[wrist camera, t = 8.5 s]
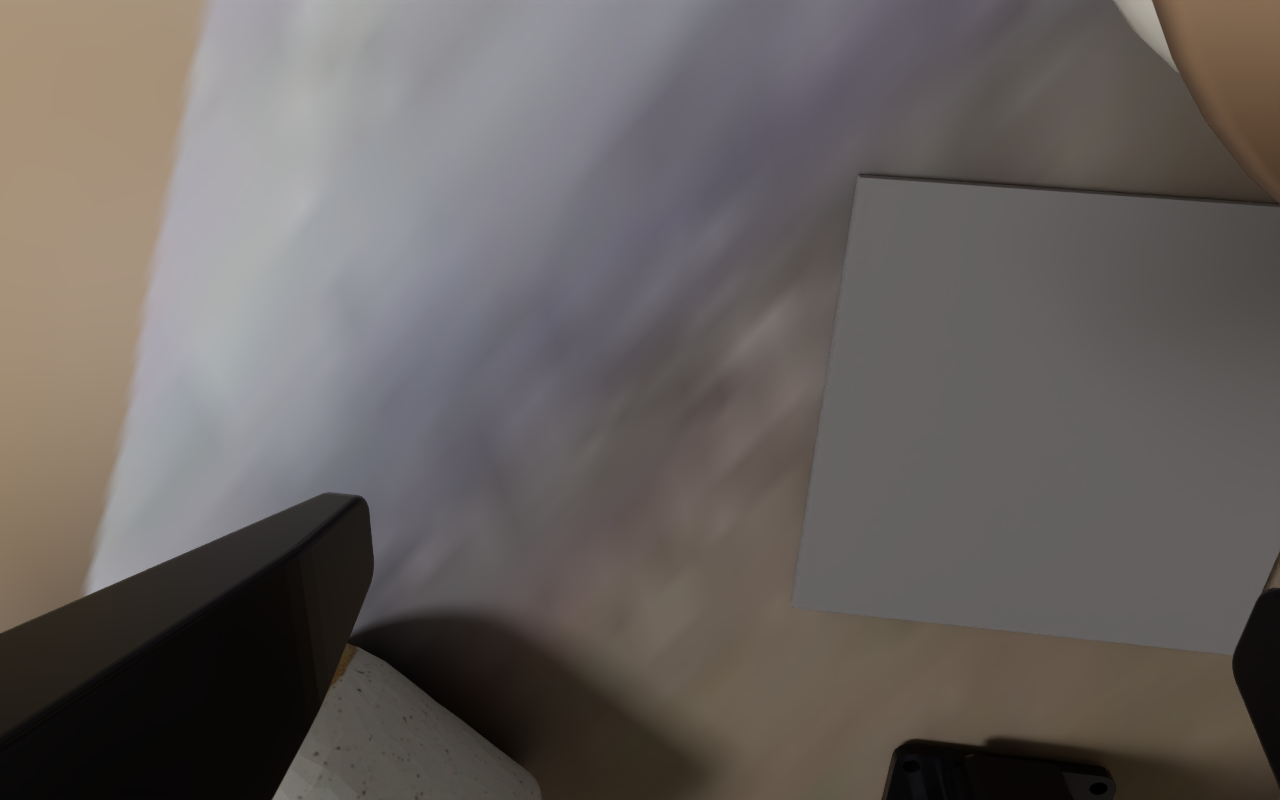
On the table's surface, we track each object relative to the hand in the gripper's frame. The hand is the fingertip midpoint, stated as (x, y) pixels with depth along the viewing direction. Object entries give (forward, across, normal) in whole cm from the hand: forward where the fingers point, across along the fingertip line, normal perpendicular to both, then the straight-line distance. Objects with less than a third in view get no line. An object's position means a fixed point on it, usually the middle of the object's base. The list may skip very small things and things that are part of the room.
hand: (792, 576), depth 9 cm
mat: (+13, -8, +4) cm, 16 cm away
